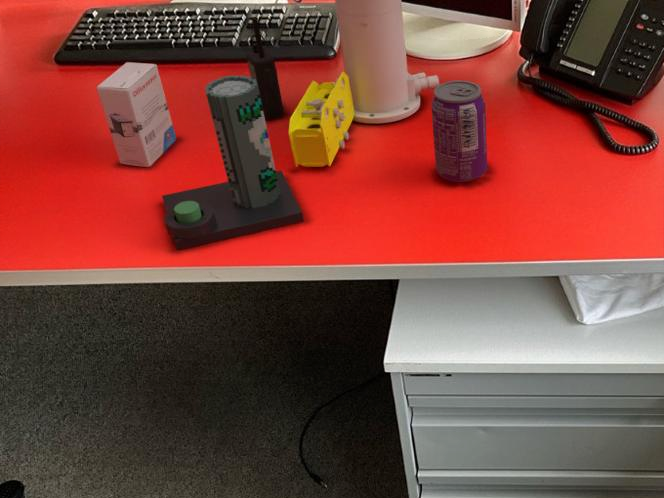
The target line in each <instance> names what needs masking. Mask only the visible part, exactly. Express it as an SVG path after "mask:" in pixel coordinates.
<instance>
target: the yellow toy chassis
mask: <svg viewBox="0 0 664 498" xmlns="http://www.w3.org/2000/svg"><path fill="white" fill-rule="evenodd" d="M353 118H354V107H353V100H352V95H351V89H350V83H349V77H348V76H347V75H346V74H345V71H342V72H341V73H340V75H339V77H336V79H335V81H329V82H328V81H327V82H326V81H325V82H322V83H320V84H319V83H318V82H317V81H315V80H312V81H311V83H310V84H309V86H308V87H307V89H306V91H305V93H304V94H303V96H302V98H301V99H300V101H299V103H298V104H297V107H296V108H295V109H294V111H293V112H292V115H291V116H290V118H289V124H288V133H287V134H288V137H289V138H288V139H289V143H290V149H291V152H292V157H293V161H294V165H295V167H297V168H298V166H299V165H300V166H302V167H304V168H311V167H312V168H323V167H325V166H328V167H331V165H332V163H333V161H334V160H335V157H336V155H337V153H338V151H339V149H340V150H341V149H345V146H346V145H345V141H349V139H350V135H349V131H348V130H349V128H350V126H351V124H352V122H353Z"/></svg>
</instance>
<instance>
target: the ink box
mask: <svg viewBox="0 0 664 498" xmlns="http://www.w3.org/2000/svg"><path fill="white" fill-rule="evenodd" d="M96 91H97V92H98V96H99V100H100V103H101V106H102V109H103V113H104V116H105V119H106V121H107V125H108V128H109V132H110V135H111V139H112V141H113V144H114V147H115V151H116V154H117V157H118V161H119V164H121V165H127V166H134V167H143V168H149V167H151V166H153V164H155V162H156V161H157V160H158V159H159V158H160V157H161V156H162V155H163V154H164V153H166V151H168V149H169V148H171V146H173V144H174V143H175V142H176V141H177V135H176V133H175V129H174V124H173V121H172V117H171V114H170V110H169V106H168V102H167V98H166V94H165V91H164V87H163V83H162V79H161V76H160V73H159V69H158V65H157V64H156V63H145V62H143V63H142V62H131V61H129V62H128V61H127V62H125V63H124V64H123V65H121V66H120V67H119V68H118V69H116V70H115V71H114V72H113V73H111V75H109V76H108V77H106V79H104V80H103V81H102V82H100V84H98V85H97V86H96Z"/></svg>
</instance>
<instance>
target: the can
mask: <svg viewBox="0 0 664 498" xmlns="http://www.w3.org/2000/svg"><path fill="white" fill-rule="evenodd" d="M206 85H207V86H204V92H205V96H206V99H207V104H208V108H209V112H210V114H211V119H212V122H213V127H214V131H215V135H216V139H217V144H218V147H219V150H220V154H221V155H220V156H221V158H222V163H223V166H224V170H225V174H226V178H227V182H228V183H229V187H230V191H231V195H232V199H233V202H234V204H238V206H242V207H245V208H250V207H252V209H253V208H258V207H263V206H268V204H270V203H274V202H273V201H276V199H278V198H279V197H278V195H281V193H280V189H279V184H278V179H277V174H276V171H277V169H276V165H275V161H274V155H273V152H272V147H271V142H270V137H269V133H268V132H269V131H268V127H267V123H266V119H265V117H264V112H263V108H262V103H261V98H260V93H259V88H258V84H257V82H256V80H255V79H252V78H251V76H248V75H245V76H244V75H243V74H242V75H236V74H235V75H227V76H223V77H219V78H218V79H213V80H212V81H210V82H209V83H206Z"/></svg>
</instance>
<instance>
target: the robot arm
mask: <svg viewBox="0 0 664 498" xmlns="http://www.w3.org/2000/svg"><path fill="white" fill-rule="evenodd" d="M334 3H335V14H336V20H337V27H338V34H339V40H340V41H339V42H340V48H341V56H342V63H343V69H344V72H345V74H346V75H347V76H348V77H349V83H350V89H351V95H352V100H353V107H354V118H353V120H352V122H357V123H361V124H372V125H373V124H375V125H381V124H388V123H395V122H398V121H401V120H403V119H406V118H408V117H410V116H412V115H413V114H415V113H417V111H418V110H419V109H420V107H421V96H420V94H421V92H422V91H425V90H428V91H429V90H434V89H435V88H436V87H437V86H438V85H440V78H439V76H438V75H437V74H433V75H428V76H427V75H426V73H425V72H424V71H423V72H418V73H415V74H411V73H409V71H408V60H407V48H406V37H405V27H404V26H405V25H404V16H403V7H402V3H403V2H402V0H334Z"/></svg>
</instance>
